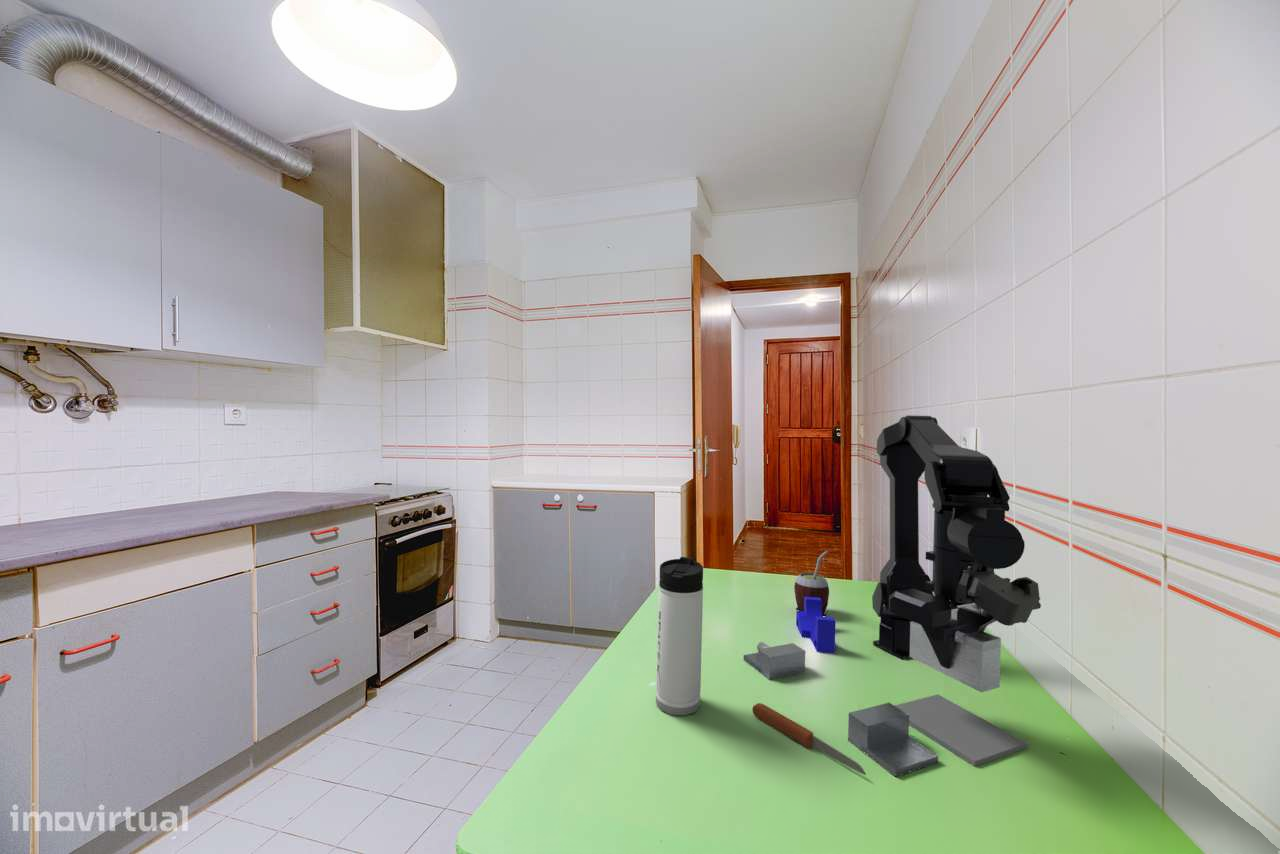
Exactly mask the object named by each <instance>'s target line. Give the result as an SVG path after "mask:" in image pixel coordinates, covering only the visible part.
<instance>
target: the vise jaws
mask: <svg viewBox="0 0 1280 854" xmlns="http://www.w3.org/2000/svg"><path fill="white" fill-rule="evenodd" d="M756 650H757V652H753V653H748V654H744V655H743V661H745V662H746V663H747V664H748V665H750V666H751V667H752V668H753V667H754V669H755V670H756V671H757V670H758V671H757V672H759V673H760V674H761V675H762V676H764V677H765V678H766V679H768V680H769V681H770V680H774V678H775V679H779V677H780V678H784V676H785V677H788V676H789V675H790V676H794V675H799V674H803V673H805V672H806V650H805V649H803V648H802V647H800V646H799V645H797V644H796V643H793V642H792V643H786V644H781V645H774V646H769V645H767V644H766V643H765V642H763V641H760V642H758V643H757V645H756ZM847 724H848V725H847V726H848V728H847V730H848V731H847V732H848V733H847V740H849V741H850V742H849V741H848V742H849V743H850V744H852V743H853V744H854V745H853V744H852V745H853V746H855V747H856V748H857V747H858V748H859V749H858V748H857V749H858V750H860V751H861V750H862V751H863V752H862V751H861V752H862V753H864V752H865V753H866V754H868V755H867V757H869V756H870V757H871V758H873V759H874V760H875V761H876V762H875V761H874V760H873V759H872V760H873V761H874V762H875V763H877V762H878V763H879V764H880V765H881V766H880V765H879V764H878V763H877V764H878V765H879V766H880V767H882V766H883V767H884V768H885V769H884V768H883V767H882V768H883V769H884V770H886V771H887V772H888V771H889V772H888V773H890V774H891V775H892V774H893V775H894V776H893V775H892V776H893V777H895V776H897V777H900V776H902V775H901V774H903V775H905V774H904V773H906V774H908V773H907V772H909V771H912V772H914V771H913V770H915V771H917V770H916V769H918V770H920V769H919V768H921V769H923V768H922V767H924V768H927V767H929V766H928V765H930V766H933V765H935V763H936V764H938V763H939V755H938V754H936V753H934V752H933V751H931V750H930V749H929V748H927V747H925V746H924V745H922V744H921V743H919V742H918V741H917V740H915V739H913V738H912V737H911V736H910V735H909V733H910V725H909V714H907V713H905V712H904V711H902V710H900V709H899V708H897V707H896V706H895V705H894V704H893V703H891V702H886V703H881V704H878V705H874V706H870V707H866V708H863V709H862V708H861V709H858V710H854V711H850V712H848V723H847ZM865 753H864V754H865ZM866 754H865V755H866ZM870 757H869V758H870ZM871 758H870V759H871ZM932 764H933V765H932ZM926 766H927V767H926ZM909 773H910V772H909ZM899 775H900V776H899Z"/></svg>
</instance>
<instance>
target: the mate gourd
mask: <svg viewBox="0 0 1280 854" xmlns="http://www.w3.org/2000/svg"><path fill="white" fill-rule="evenodd" d="M829 552H830V550H829V549H828V550H825V551H824V552H823V553H821V554H820V555H819V557H817V562H816V566H815V570H814V573H813V572H802V573H800V574H799V575H798V576H797V577H796V578H795V582H794V587H793V588H794V594H795V595H794V597H795V601H796V606H797V607H796V608H795V610H796V611H797V610H799V611H804V598H805V597H816V598H820V599H821V600H822V616H826V617H827V614H826V610H827V607H828V604H829V599H830V598H829V597H830V588H829V583H828V581H827V579H826V578H825V576H823V575H822V574H818V571H819V568H820V564H821V563H822V561H823V557H824V556H825V555H827V554H828V553H829Z"/></svg>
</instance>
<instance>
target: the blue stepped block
mask: <svg viewBox="0 0 1280 854" xmlns="http://www.w3.org/2000/svg"><path fill="white" fill-rule="evenodd" d="M795 613H796V618H795V621H796V622H795V626H796V625H797V626H796V628H797V627H798V628H797V630H798V632H799V634H801V635H800V636H802V637H801V638H803V637H804V638H803V639H805V637H806V639H810V641H811V643H812V645H813V647H814V649H815V650H816V653H820V654H822V653H823V654H825V653H826V654H832V655H833V654H834V655H835V654H836V652H835V651H836V649H835V648H836V624H837V623H836V619H835V617H832V616H826V617H823V616H822V600H821V599H820V598H816V597H805V598H804V611H797V610H796V611H795Z"/></svg>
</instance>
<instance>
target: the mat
mask: <svg viewBox="0 0 1280 854" xmlns="http://www.w3.org/2000/svg"><path fill="white" fill-rule="evenodd" d="M894 706H896V707H897V708H899V709H900V710H902V711H904V712H905V713H907V714H909V727H912V728H914V729H915V730H917V731H919V733H921V734H923V735H925V736H926V737H928V738H929V739H931V740H932V741H934V742H936V743H937V744H939V745H940V746H942V747H943V748H944V749H947V750H948V751H950V752H951V753H953V754H955V755H956V756H957V757H958V758H960V759H962V760H964V761H965V762H967V763H968V764H969V765H972V766H973V767H977V766H979V765H982V764H985V763H988V762H991V761H994V760H997V759H1000V758H1003V757H1006V756H1008V755H1011V754H1013V753H1016V752H1019V751H1022V750H1025V749H1027V748H1028V742H1027V741H1025V740H1023V739H1021V738H1019V737H1018V736H1016V735H1014V734H1012V733H1010V732H1009V731H1006V730H1004V729H1003V728H1001V727H999V726H997V725H995V724H993V723H992V722H990V721H988V720H986V719H984V718H983V717H981V716H979V715H977V714H975V713H973V712H971V711H970V710H968V709H966V708H964V707H962V706H960V705H958V704H957V703H954V702H953V701H951V700H950V699H947V698H946V697H944V696H942V695H940V694H933V695H930V696H925V697H923V698H918V699H914V700H911V701H907V702H902V703H900V704H896V705H894Z"/></svg>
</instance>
